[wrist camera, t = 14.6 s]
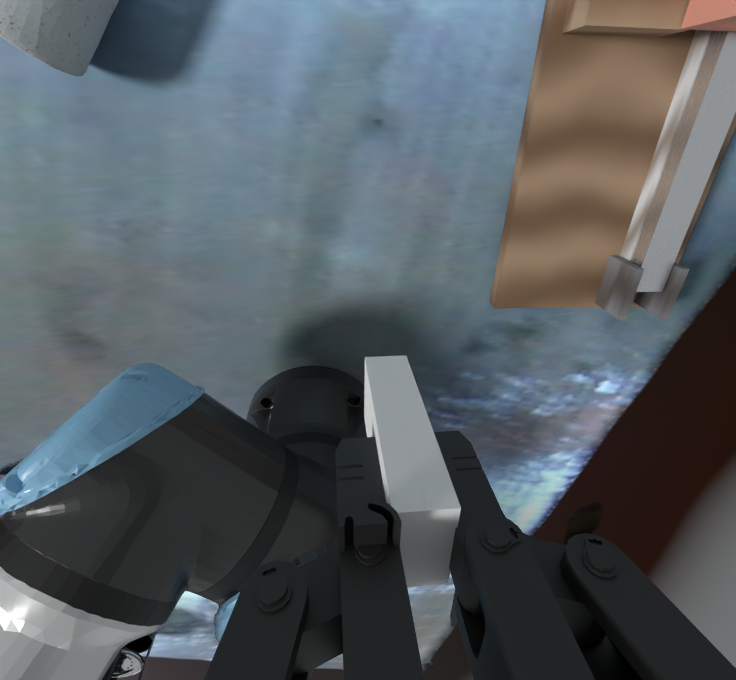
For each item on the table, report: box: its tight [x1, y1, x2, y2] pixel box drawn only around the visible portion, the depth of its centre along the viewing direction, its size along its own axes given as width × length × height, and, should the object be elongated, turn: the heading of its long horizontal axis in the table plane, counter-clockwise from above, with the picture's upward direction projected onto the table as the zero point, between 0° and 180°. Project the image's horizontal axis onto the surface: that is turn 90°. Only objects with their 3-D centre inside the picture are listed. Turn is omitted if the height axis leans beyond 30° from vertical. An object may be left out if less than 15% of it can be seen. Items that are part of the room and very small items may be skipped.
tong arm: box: [631, 30, 736, 292], centre depth 33 cm, size 24×3×2 cm, turn 179°
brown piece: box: [490, 0, 736, 320], centre depth 33 cm, size 30×18×6 cm, turn 179°
